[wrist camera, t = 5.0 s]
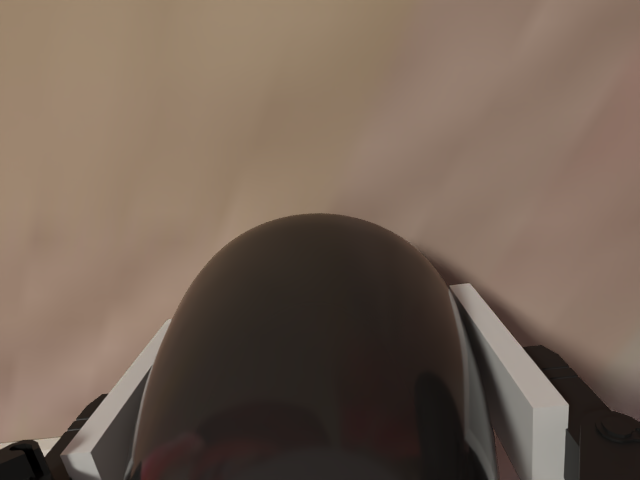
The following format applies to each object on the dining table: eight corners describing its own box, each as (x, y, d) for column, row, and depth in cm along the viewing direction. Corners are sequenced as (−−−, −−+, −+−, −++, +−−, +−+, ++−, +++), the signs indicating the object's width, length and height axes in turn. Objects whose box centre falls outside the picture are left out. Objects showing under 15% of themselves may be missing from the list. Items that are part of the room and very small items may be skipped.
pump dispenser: (299, 137, 16) (17, 352, 2) (482, 289, 18) (1118, 1032, 3) (163, 312, 19) (-411, 998, 4) (336, 430, 20) (347, 1198, 6)
